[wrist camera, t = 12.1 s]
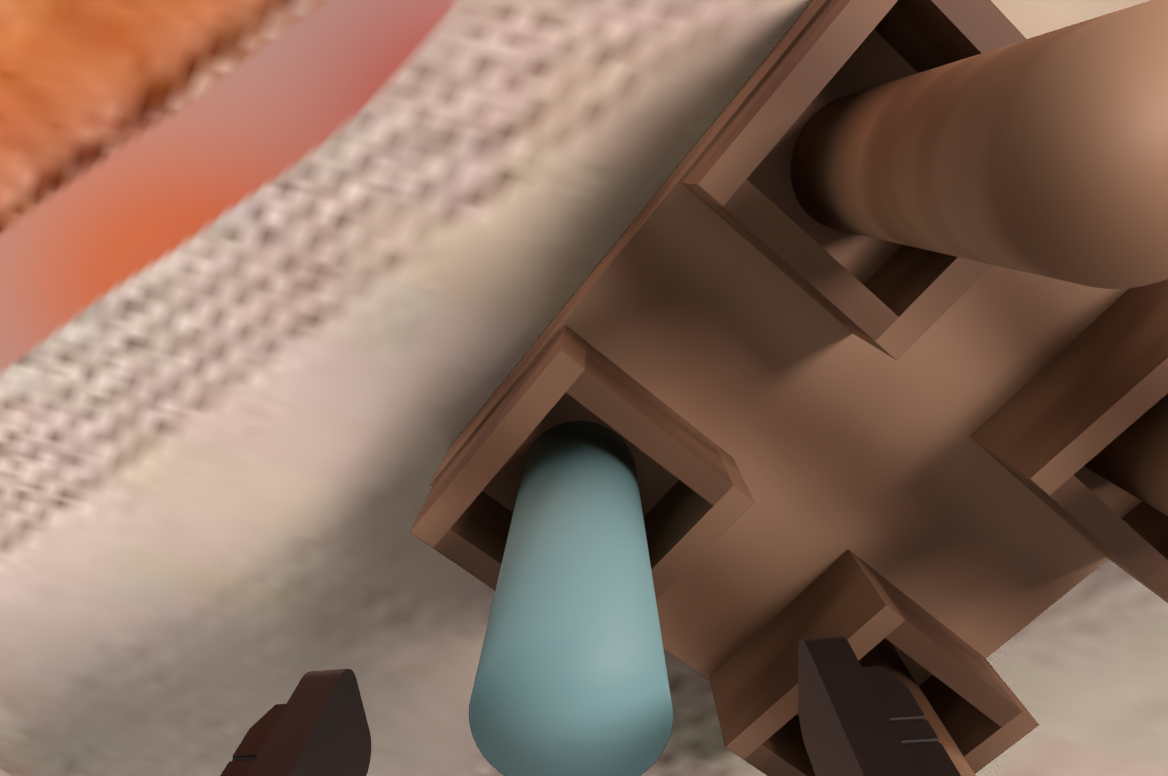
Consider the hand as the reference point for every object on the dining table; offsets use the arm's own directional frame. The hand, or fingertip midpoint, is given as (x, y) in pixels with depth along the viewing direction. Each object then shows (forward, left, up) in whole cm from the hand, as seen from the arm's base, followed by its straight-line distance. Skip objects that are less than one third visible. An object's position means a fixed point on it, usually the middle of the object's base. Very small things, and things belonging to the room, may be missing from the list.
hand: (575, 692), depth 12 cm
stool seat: (-6, +6, -13) cm, 15 cm away
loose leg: (0, 0, -10) cm, 10 cm away
